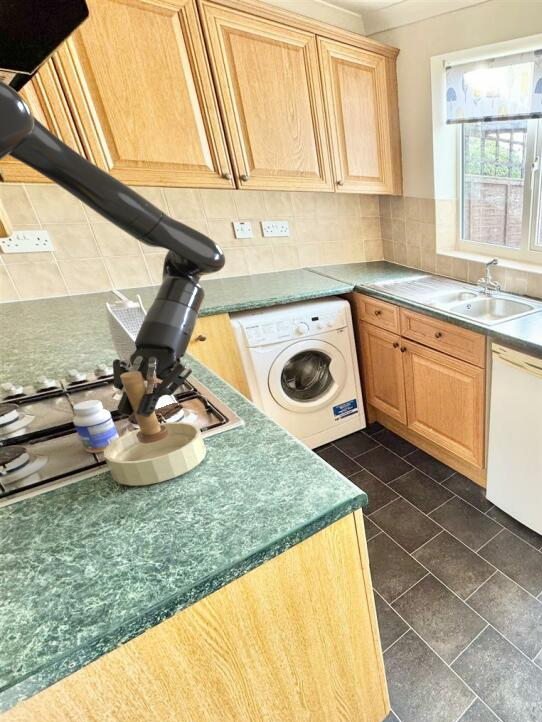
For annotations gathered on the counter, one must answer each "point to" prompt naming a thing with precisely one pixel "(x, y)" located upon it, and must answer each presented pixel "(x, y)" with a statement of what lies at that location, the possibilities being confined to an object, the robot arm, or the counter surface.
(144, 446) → the bowl
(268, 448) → the counter surface
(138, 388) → the tan cylinder
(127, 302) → the skyscraper
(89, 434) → the pill bottle
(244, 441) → the counter surface
